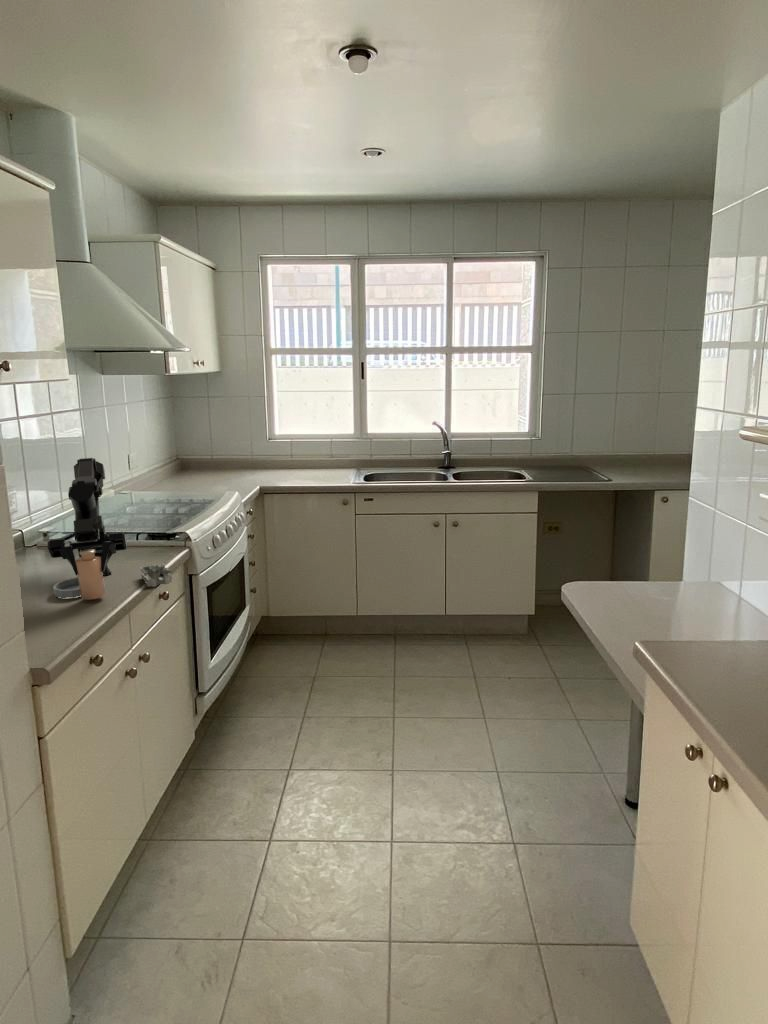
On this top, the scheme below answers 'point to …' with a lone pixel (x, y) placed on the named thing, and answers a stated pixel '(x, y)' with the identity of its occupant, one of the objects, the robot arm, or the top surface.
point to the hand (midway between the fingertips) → (89, 573)
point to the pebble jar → (90, 575)
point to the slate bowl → (67, 588)
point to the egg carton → (156, 575)
